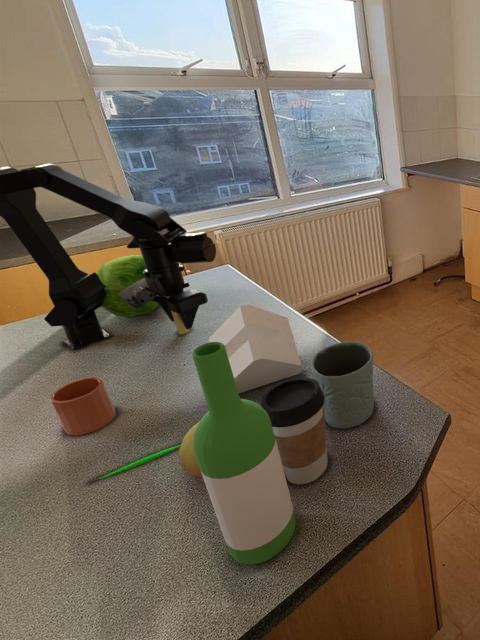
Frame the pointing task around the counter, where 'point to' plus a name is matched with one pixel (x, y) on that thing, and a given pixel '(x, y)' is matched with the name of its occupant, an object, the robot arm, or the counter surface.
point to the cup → (83, 406)
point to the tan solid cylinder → (179, 324)
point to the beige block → (258, 347)
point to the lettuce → (122, 285)
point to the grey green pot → (345, 383)
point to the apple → (189, 454)
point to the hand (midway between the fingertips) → (181, 324)
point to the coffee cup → (298, 427)
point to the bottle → (240, 464)
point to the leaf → (142, 461)
